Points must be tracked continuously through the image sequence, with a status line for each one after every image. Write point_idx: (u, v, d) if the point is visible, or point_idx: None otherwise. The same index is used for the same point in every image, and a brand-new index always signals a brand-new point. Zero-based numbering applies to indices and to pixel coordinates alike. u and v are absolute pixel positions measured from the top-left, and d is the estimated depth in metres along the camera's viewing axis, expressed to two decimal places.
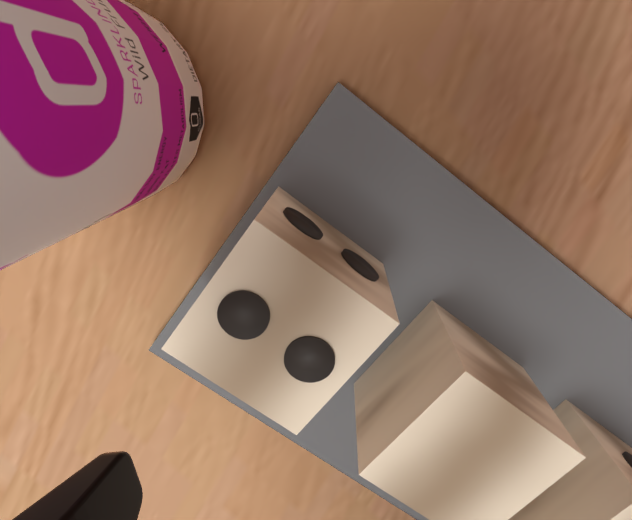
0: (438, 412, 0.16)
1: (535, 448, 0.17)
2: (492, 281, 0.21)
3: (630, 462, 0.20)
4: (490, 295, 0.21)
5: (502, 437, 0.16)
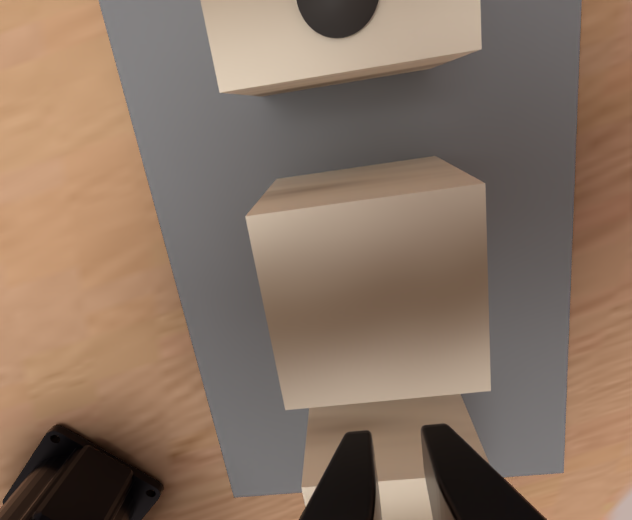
0: (407, 211, 0.11)
1: (457, 341, 0.12)
2: (503, 188, 0.17)
3: None
4: (487, 202, 0.17)
5: (440, 300, 0.12)
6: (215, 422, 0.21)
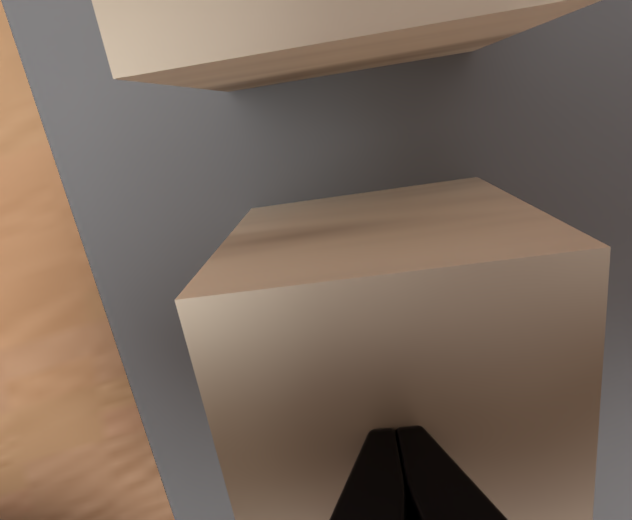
0: (463, 293, 0.06)
1: (539, 500, 0.07)
2: (572, 222, 0.12)
3: None
4: None
5: (514, 438, 0.07)
6: None
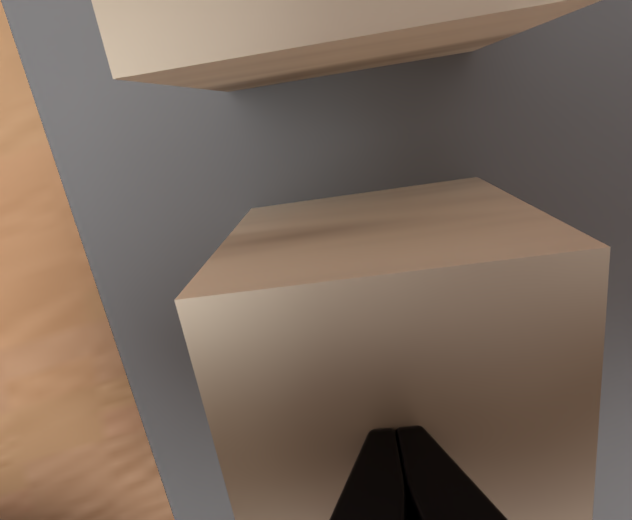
0: (463, 293, 0.06)
1: (539, 500, 0.07)
2: (572, 222, 0.12)
3: None
4: None
5: (513, 438, 0.07)
6: None
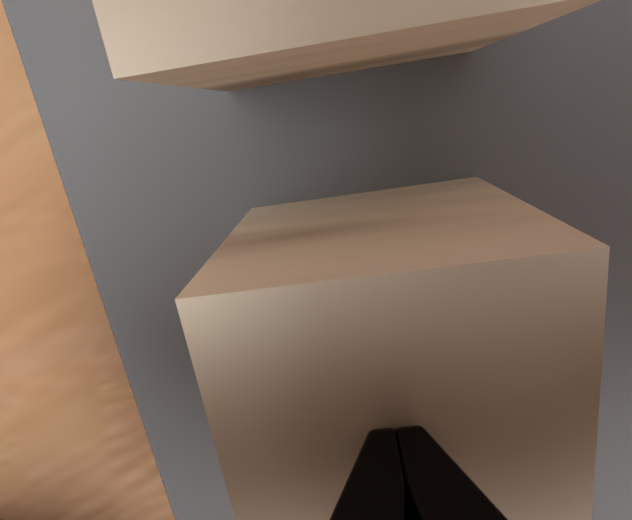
0: (463, 293, 0.06)
1: (539, 499, 0.07)
2: (572, 222, 0.12)
3: None
4: None
5: (513, 437, 0.07)
6: (177, 519, 0.16)
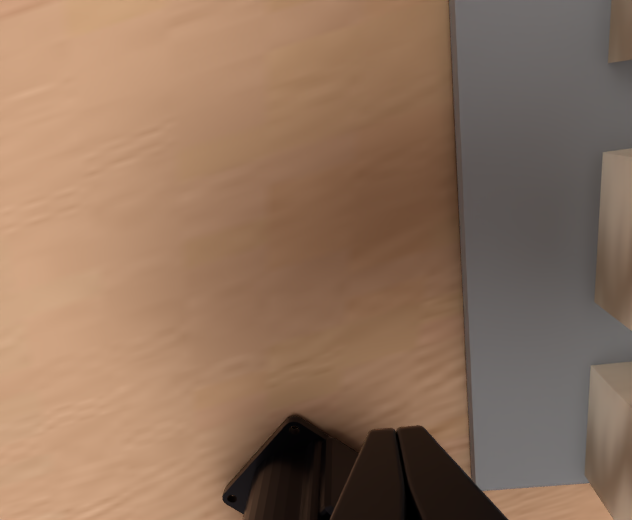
0: None
1: None
2: None
3: None
4: None
5: None
6: (474, 412, 0.20)
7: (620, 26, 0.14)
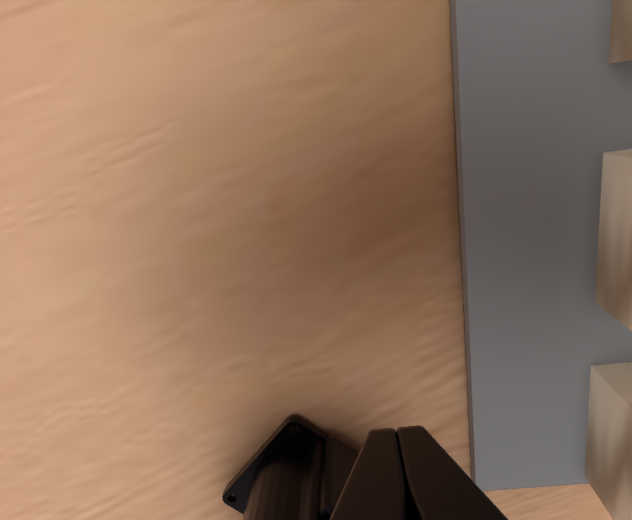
0: None
1: None
2: None
3: None
4: None
5: None
6: (474, 412, 0.20)
7: (621, 27, 0.14)
